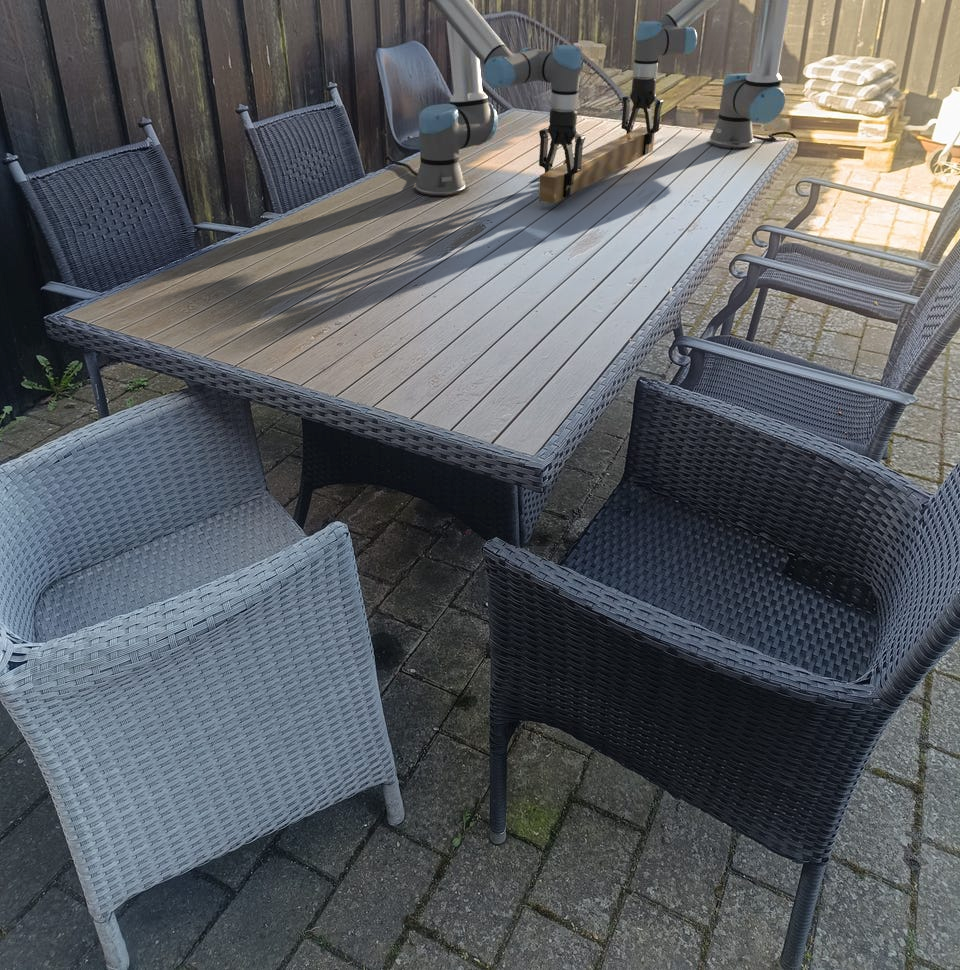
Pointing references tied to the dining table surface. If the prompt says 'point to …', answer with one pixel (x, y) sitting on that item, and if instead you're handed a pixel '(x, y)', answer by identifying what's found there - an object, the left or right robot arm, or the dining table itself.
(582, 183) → the bar
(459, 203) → the dining table surface
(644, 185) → the dining table surface
